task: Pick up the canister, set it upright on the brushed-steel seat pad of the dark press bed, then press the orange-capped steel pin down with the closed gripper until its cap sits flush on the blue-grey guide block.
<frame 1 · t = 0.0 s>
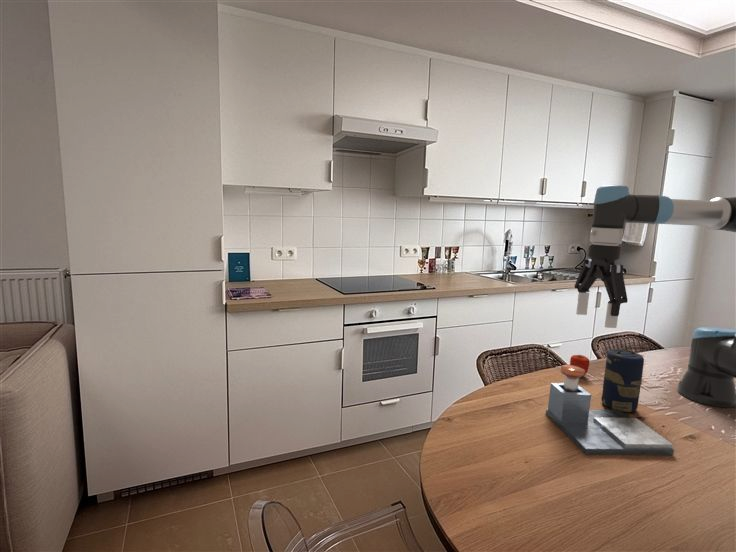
hand: (595, 320, 114), 28 cm above the table, fingers open, 13 cm apart
canister: (618, 407, 125), on the table
pin: (571, 384, 113), point 11 cm above the table, slide at 0.0 cm
press: (603, 432, 109), on the table
apple: (577, 376, 149), on the table
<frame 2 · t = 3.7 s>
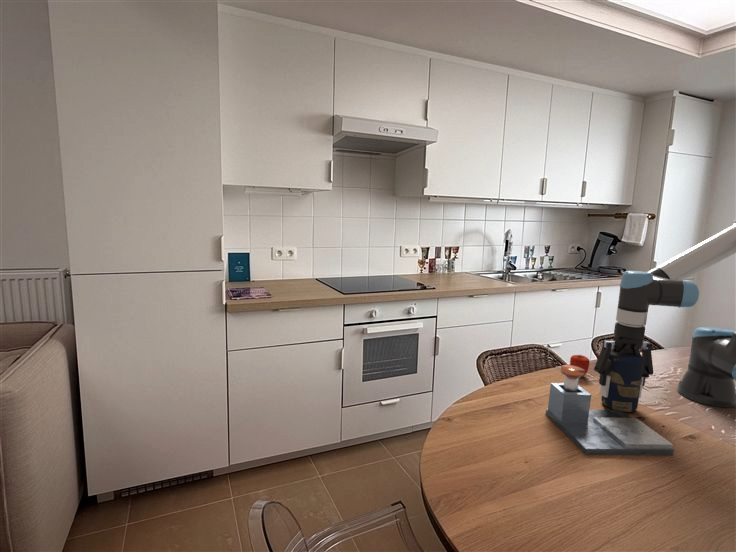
hand: (619, 395, 124), 4 cm above the table, fingers closed on canister, 9 cm apart
canister: (618, 407, 125), on the table, touching gripper
everything else where it was.
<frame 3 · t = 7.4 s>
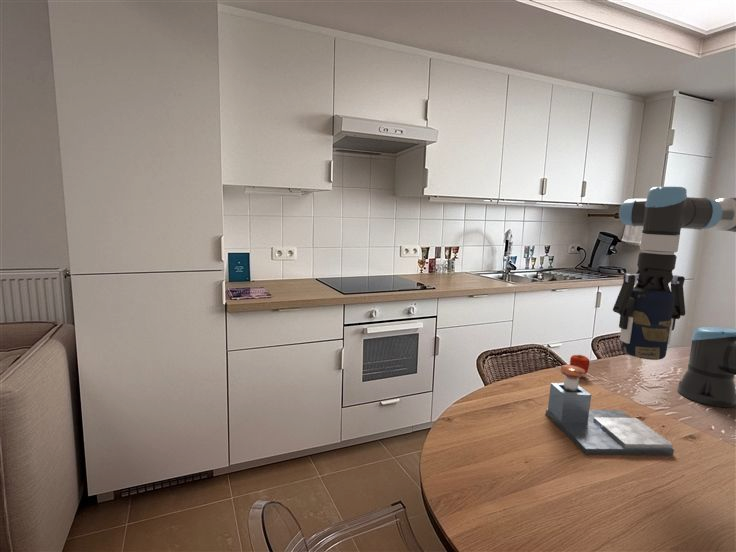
hand: (644, 342, 103), 26 cm above the table, fingers closed on canister, 9 cm apart
canister: (641, 356, 103), point 22 cm above the table, touching gripper
everything else where it was.
when the fingers open (7 cm above the table, at t = 11.1 s): canister drops 1 cm, resting on press.
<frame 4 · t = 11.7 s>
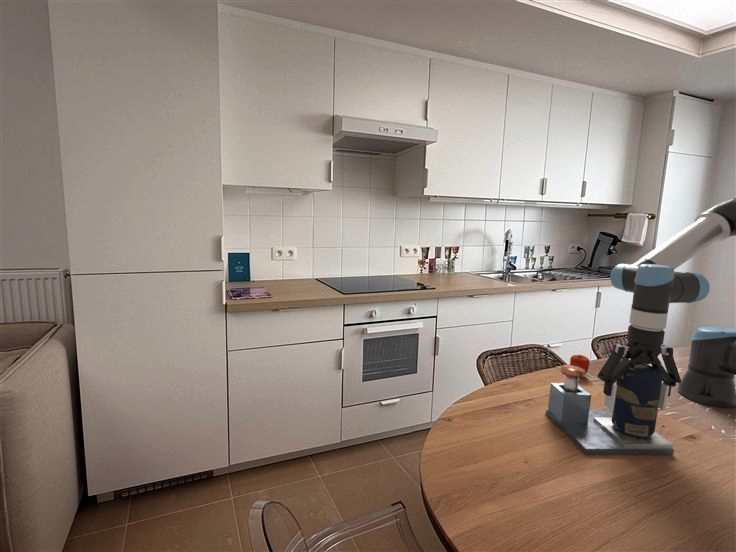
hand: (634, 407, 105), 9 cm above the table, fingers open, 13 cm apart
canister: (631, 430, 106), point 2 cm above the table, touching press
everything else where it was.
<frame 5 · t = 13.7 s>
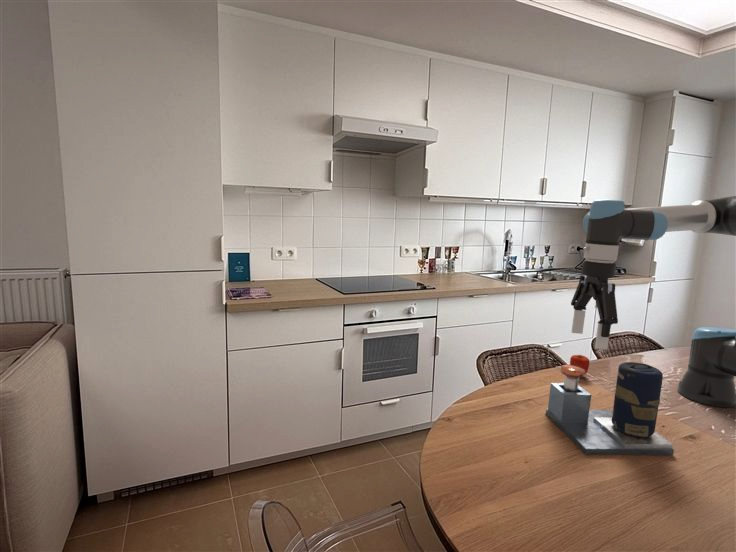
hand: (588, 340, 109), 24 cm above the table, fingers open, 13 cm apart
nothing on the table moved.
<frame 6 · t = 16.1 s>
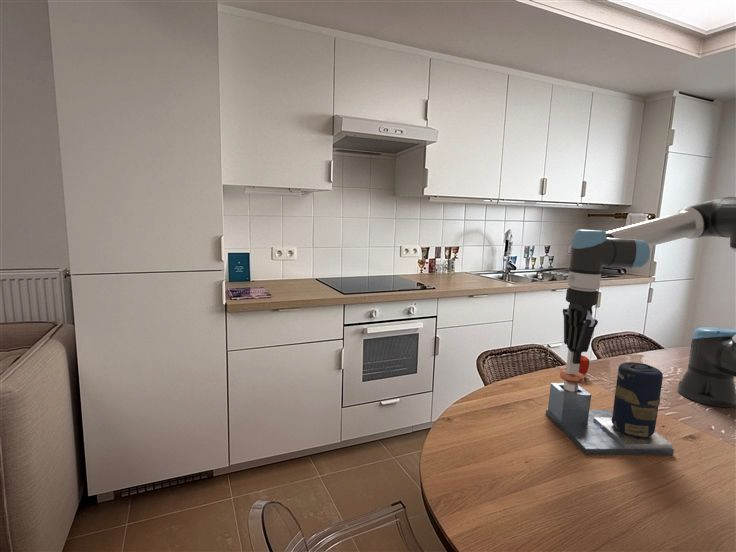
hand: (571, 373, 113), 14 cm above the table, fingers closed
pin: (570, 389, 113), point 9 cm above the table, slide at 1.5 cm, touching gripper
everything else where it was.
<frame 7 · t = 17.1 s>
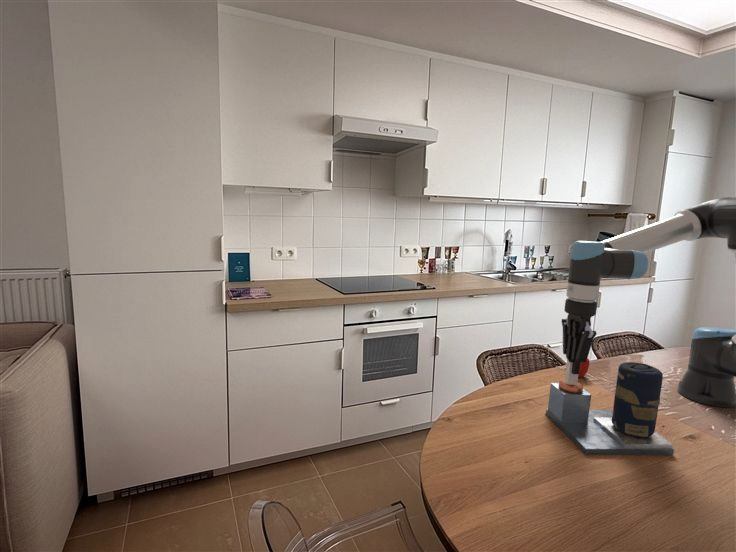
hand: (570, 383, 113), 11 cm above the table, fingers closed
pin: (569, 399, 114), point 6 cm above the table, slide at 4.4 cm, touching gripper
everything else where it was.
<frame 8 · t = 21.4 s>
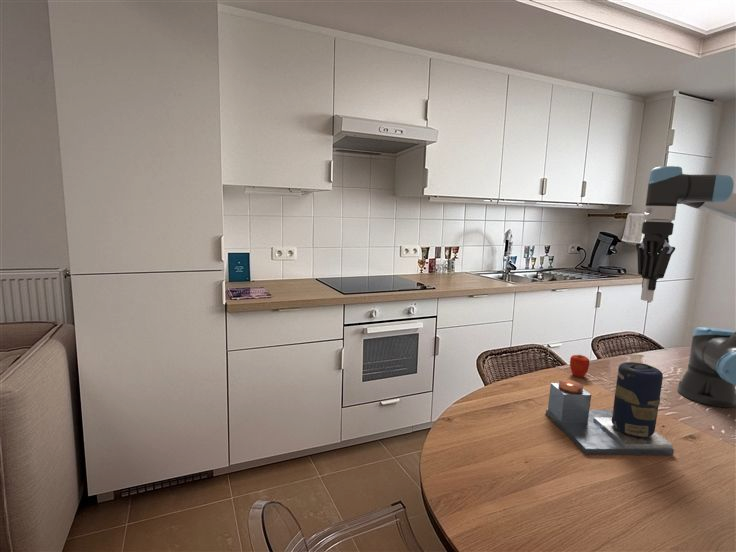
hand: (646, 300, 124), 32 cm above the table, fingers closed
pin: (569, 399, 114), point 6 cm above the table, slide at 4.4 cm
everything else where it was.
at the end: canister inside the target area on the press (0.2 cm from its centre), point 2.3 cm above the press's base; canister tilted 0°; pin slide at 4.4 cm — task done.
